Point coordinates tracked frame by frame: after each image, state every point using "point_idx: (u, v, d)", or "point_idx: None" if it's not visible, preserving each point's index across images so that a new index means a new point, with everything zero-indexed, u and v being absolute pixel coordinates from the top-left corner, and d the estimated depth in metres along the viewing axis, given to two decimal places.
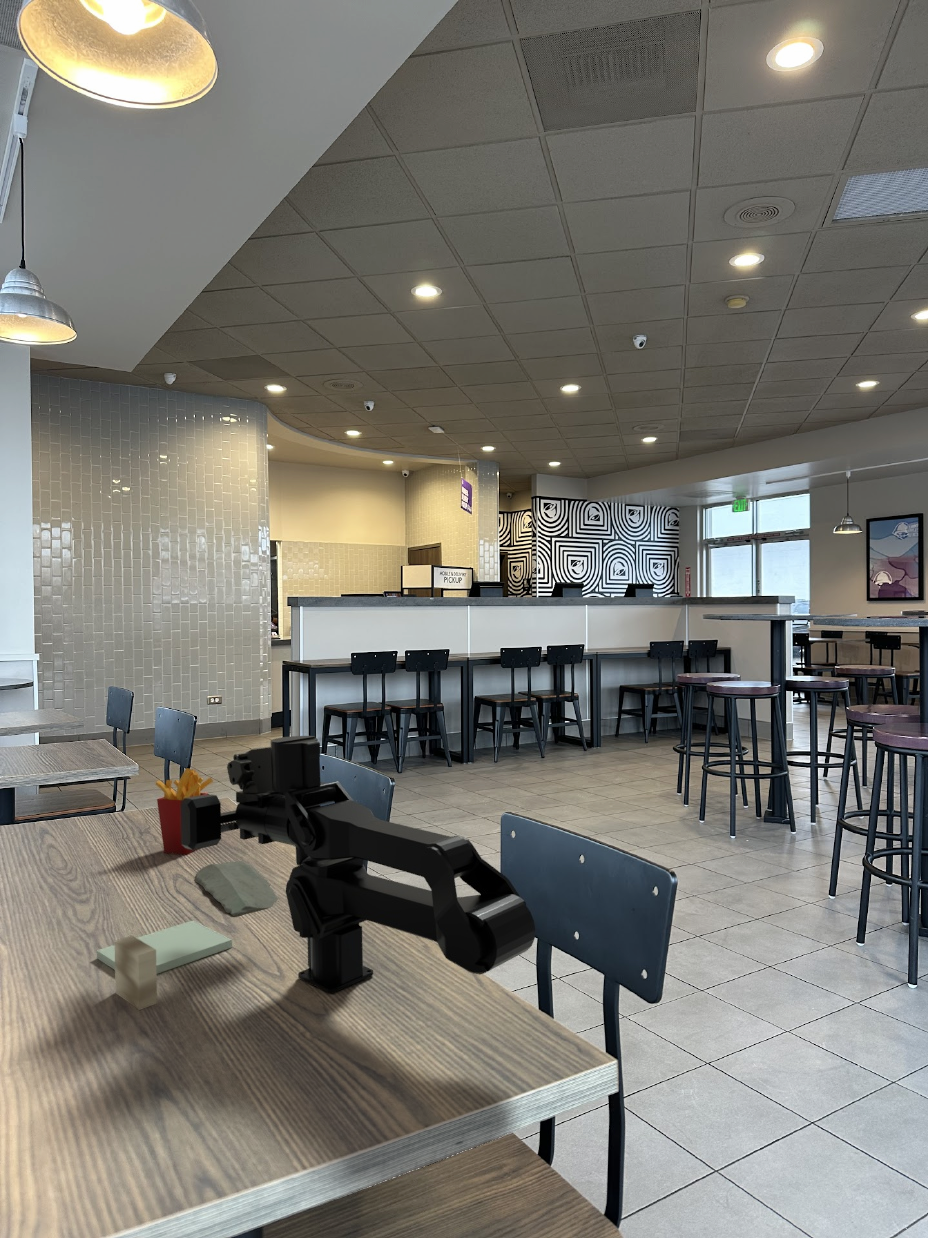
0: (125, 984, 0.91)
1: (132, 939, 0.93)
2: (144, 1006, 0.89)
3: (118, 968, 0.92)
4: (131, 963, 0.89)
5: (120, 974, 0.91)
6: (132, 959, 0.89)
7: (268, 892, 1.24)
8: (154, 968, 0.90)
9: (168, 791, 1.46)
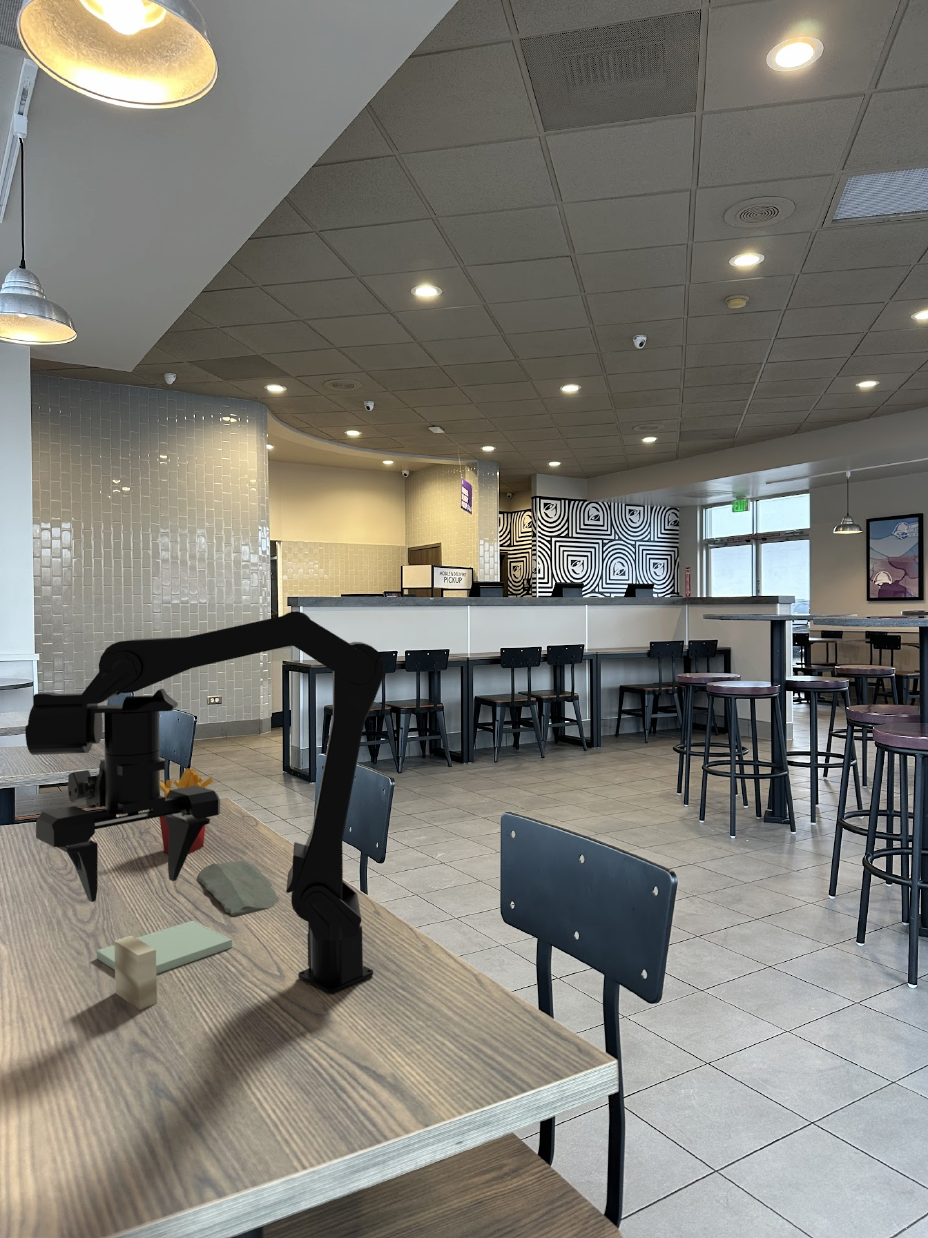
0: (125, 984, 0.91)
1: (132, 939, 0.93)
2: (144, 1006, 0.89)
3: (118, 968, 0.92)
4: (131, 963, 0.89)
5: (120, 974, 0.91)
6: (132, 959, 0.89)
7: (269, 892, 1.24)
8: (154, 968, 0.90)
9: (168, 791, 1.46)
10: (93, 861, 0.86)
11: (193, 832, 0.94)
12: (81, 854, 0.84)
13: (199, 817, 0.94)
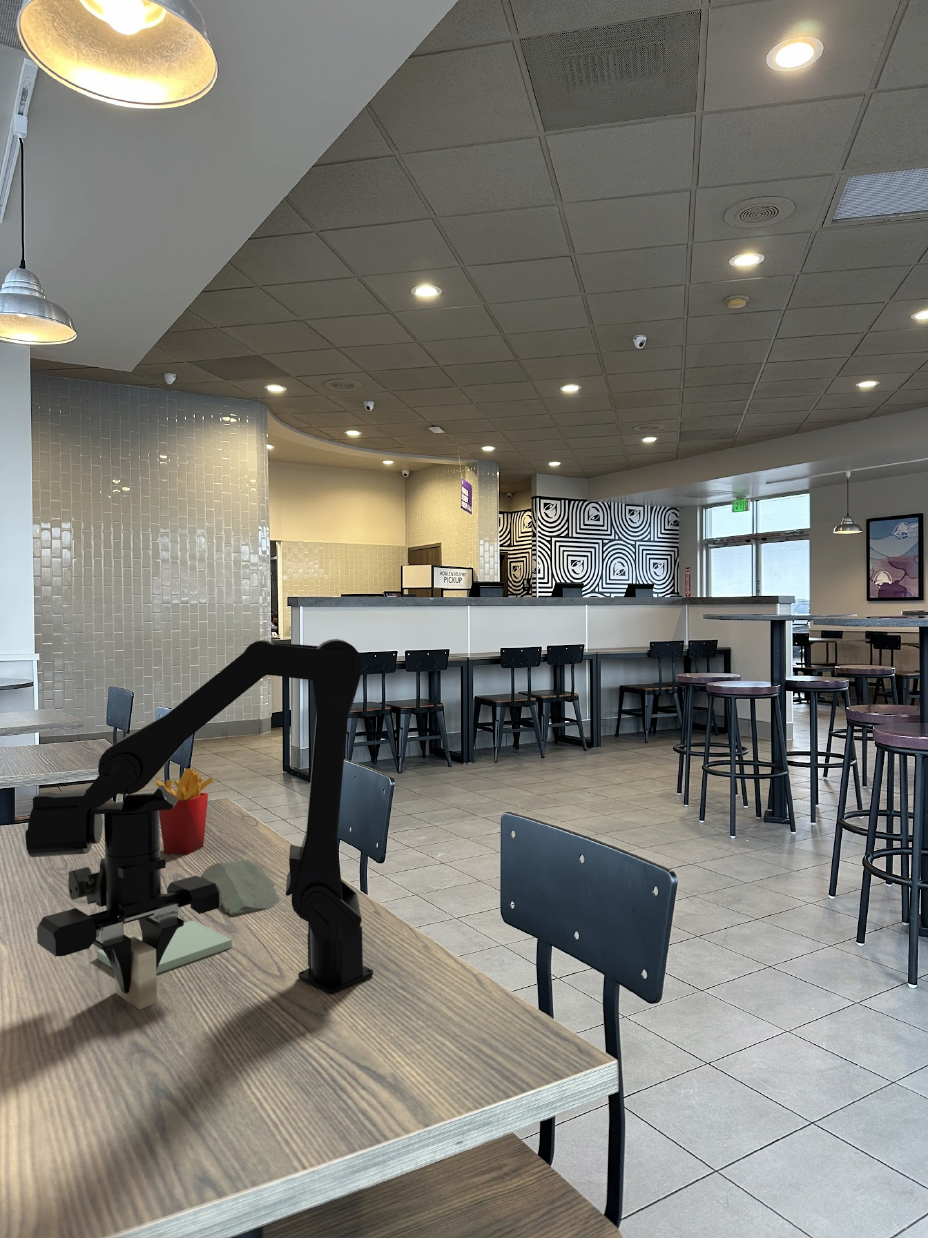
0: None
1: (132, 939, 0.93)
2: (144, 1006, 0.89)
3: None
4: (131, 963, 0.89)
5: None
6: (132, 959, 0.89)
7: (270, 892, 1.24)
8: (154, 968, 0.90)
9: (168, 791, 1.46)
10: (127, 956, 0.88)
11: (167, 936, 0.91)
12: (115, 950, 0.87)
13: (200, 912, 0.94)
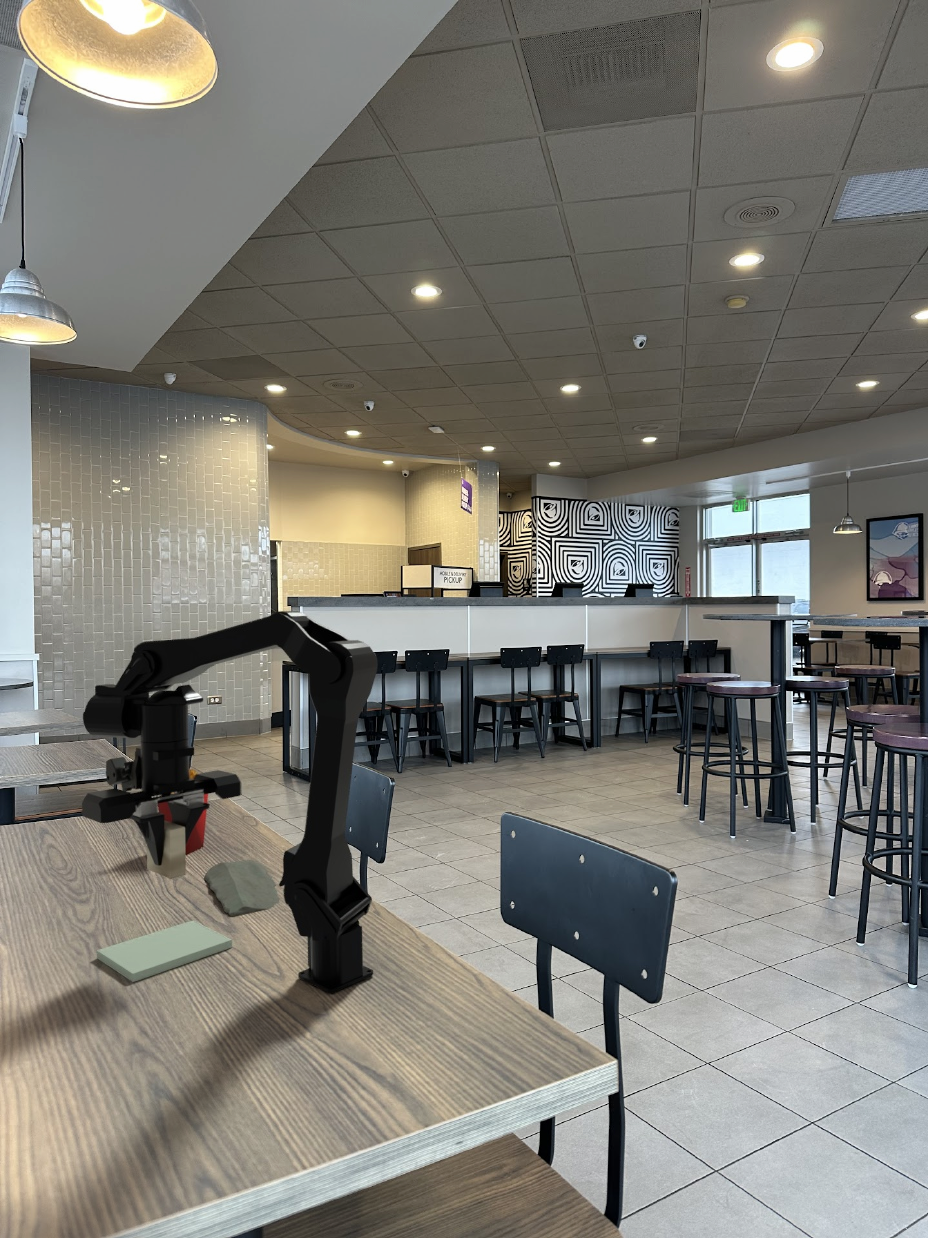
0: None
1: None
2: (175, 876, 1.00)
3: None
4: None
5: None
6: (164, 835, 1.01)
7: (271, 892, 1.24)
8: (183, 843, 1.01)
9: None
10: (160, 830, 1.00)
11: (195, 816, 1.03)
12: (151, 823, 0.98)
13: (224, 797, 1.05)
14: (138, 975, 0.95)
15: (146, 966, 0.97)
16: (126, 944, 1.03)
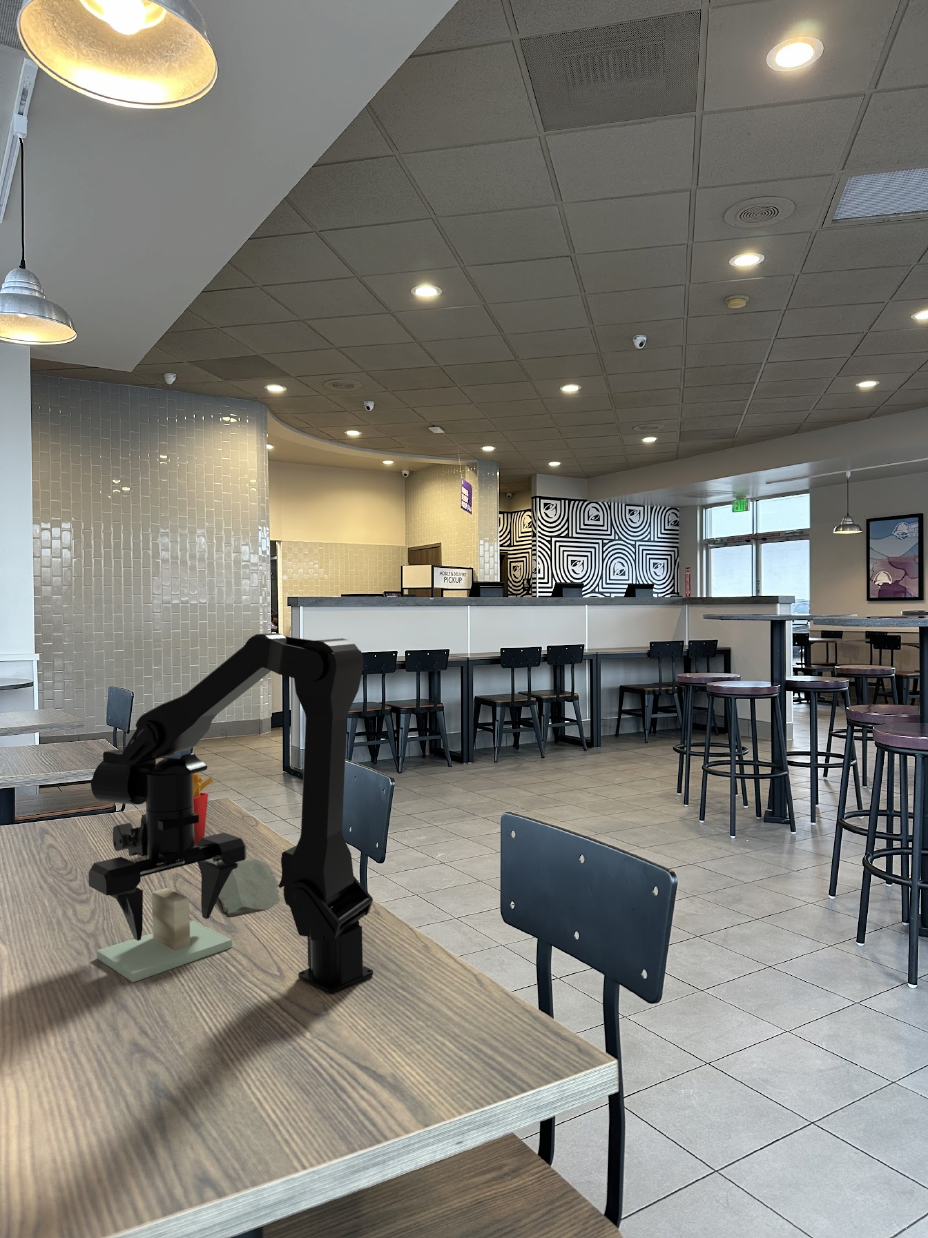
0: (162, 929, 1.03)
1: (167, 890, 1.06)
2: (179, 947, 1.02)
3: (155, 916, 1.05)
4: (167, 910, 1.02)
5: (157, 920, 1.04)
6: (168, 906, 1.02)
7: (272, 893, 1.24)
8: (187, 914, 1.03)
9: None
10: (139, 906, 0.98)
11: (224, 876, 1.06)
12: (129, 900, 0.97)
13: (228, 862, 1.06)
14: (138, 975, 0.95)
15: (146, 966, 0.97)
16: (126, 944, 1.03)
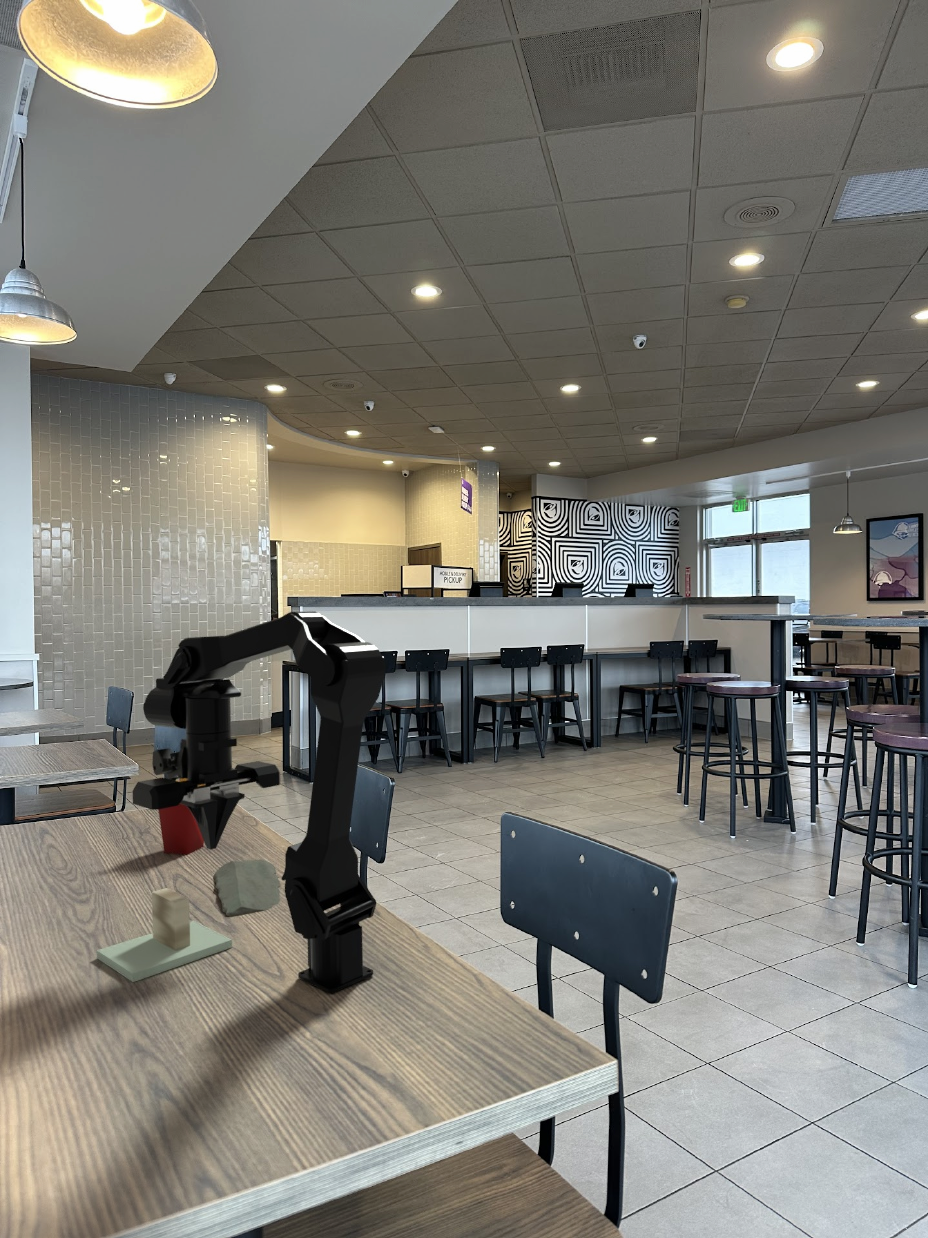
0: (162, 929, 1.03)
1: (167, 890, 1.06)
2: (179, 947, 1.02)
3: (155, 916, 1.05)
4: (167, 910, 1.02)
5: (157, 920, 1.04)
6: (168, 906, 1.02)
7: (272, 893, 1.23)
8: (187, 914, 1.03)
9: None
10: (213, 815, 1.05)
11: (231, 805, 1.07)
12: (205, 809, 1.04)
13: (264, 786, 1.10)
14: (138, 975, 0.95)
15: (146, 966, 0.97)
16: (126, 944, 1.03)
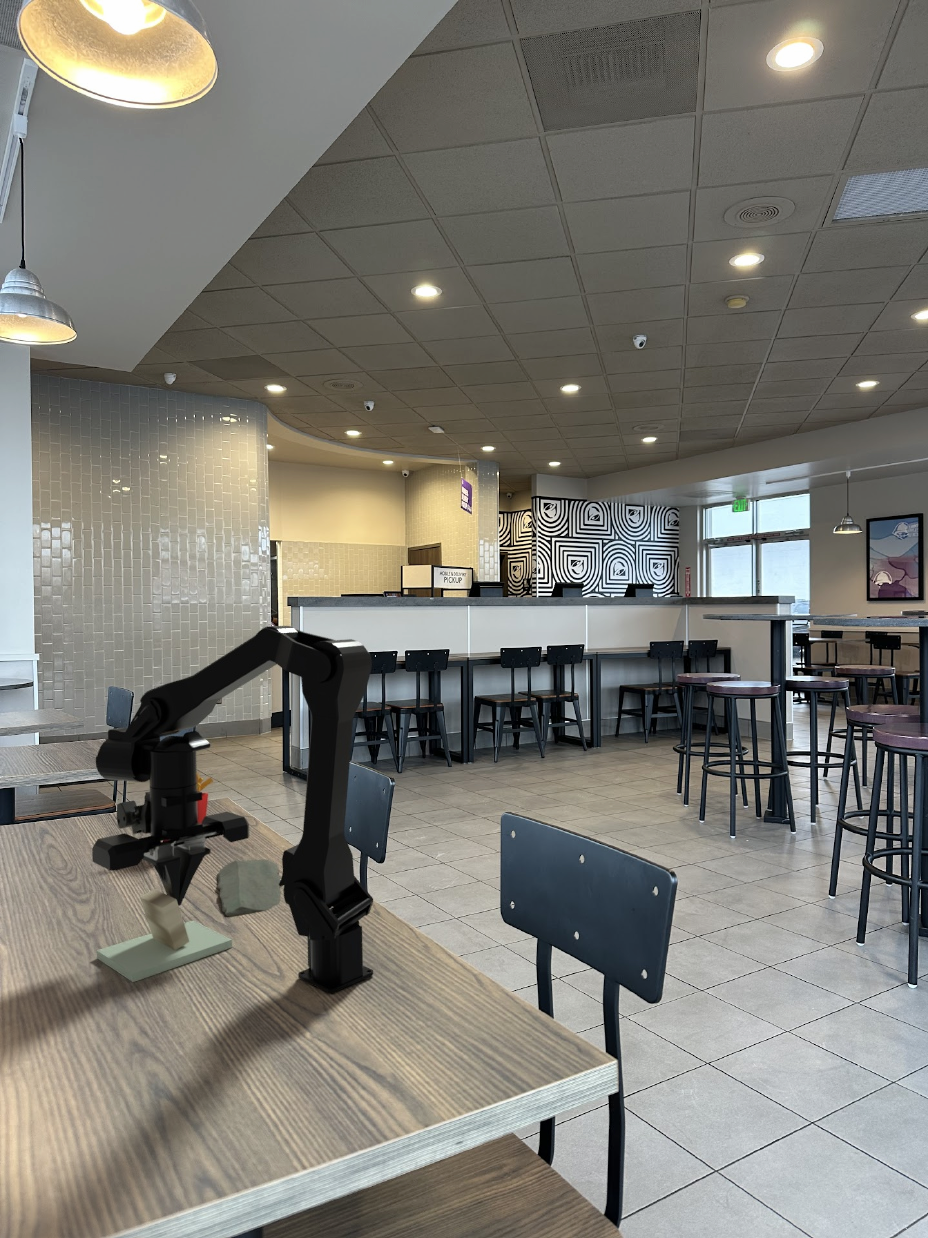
0: (158, 931, 1.03)
1: (155, 892, 1.04)
2: (178, 946, 1.02)
3: (149, 919, 1.04)
4: (158, 914, 1.02)
5: (152, 923, 1.04)
6: (158, 911, 1.01)
7: (273, 894, 1.23)
8: (179, 914, 1.02)
9: None
10: (176, 873, 1.02)
11: (196, 862, 1.03)
12: (167, 867, 1.01)
13: (231, 841, 1.07)
14: (138, 975, 0.95)
15: (146, 966, 0.97)
16: (126, 944, 1.03)
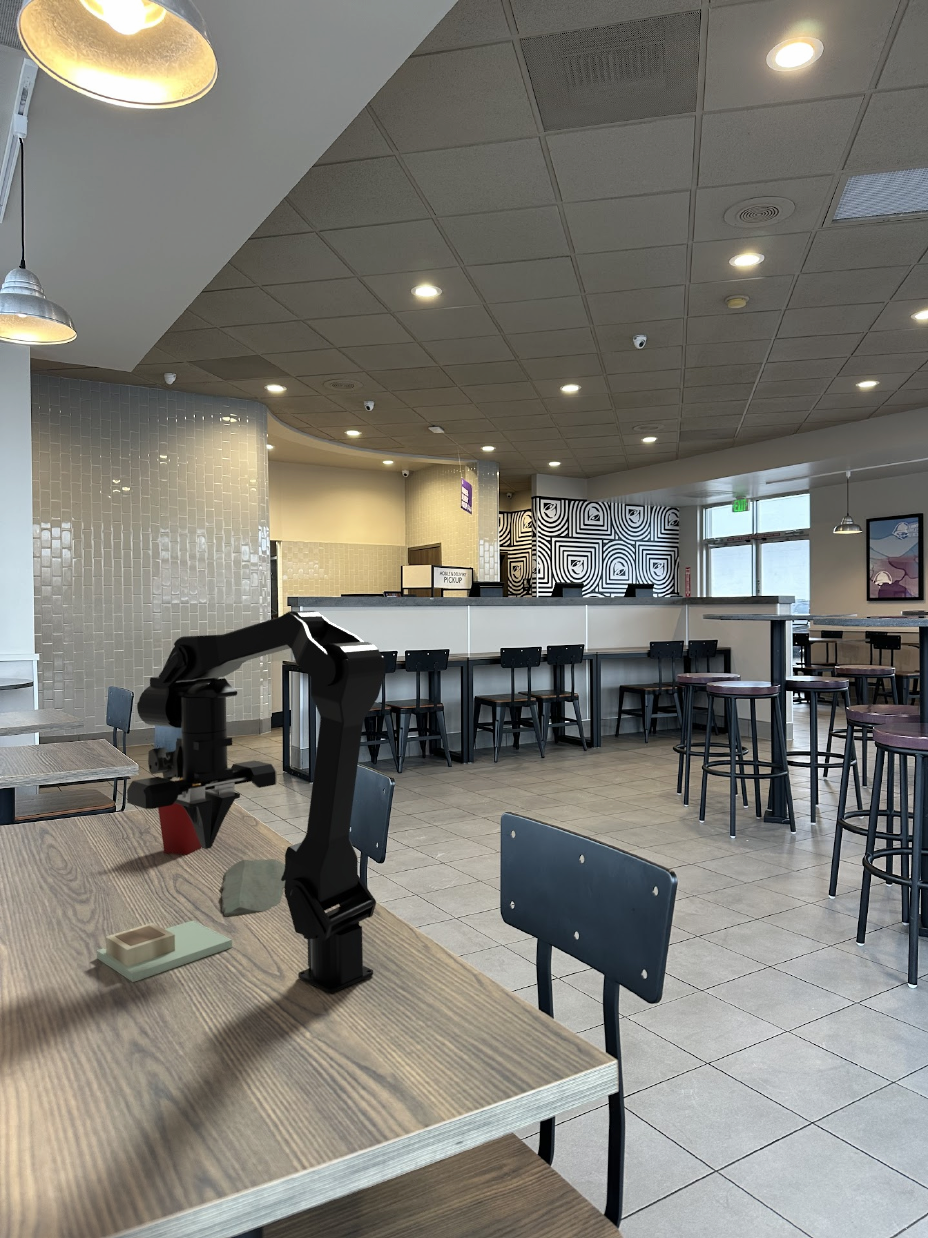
0: None
1: (110, 943, 1.00)
2: (173, 946, 1.01)
3: None
4: None
5: None
6: None
7: (275, 894, 1.23)
8: (143, 946, 0.98)
9: None
10: (208, 815, 1.05)
11: (226, 805, 1.07)
12: (199, 808, 1.04)
13: (260, 786, 1.10)
14: (138, 975, 0.95)
15: (146, 966, 0.97)
16: None
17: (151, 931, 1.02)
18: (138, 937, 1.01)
